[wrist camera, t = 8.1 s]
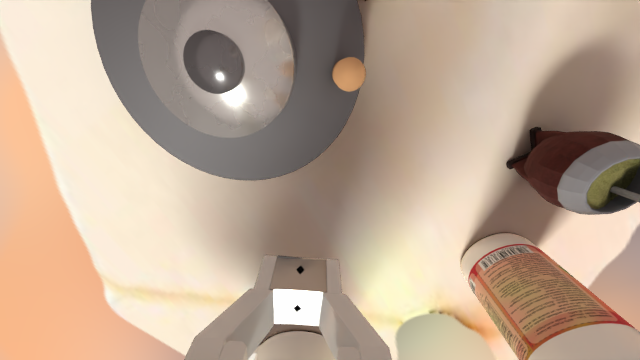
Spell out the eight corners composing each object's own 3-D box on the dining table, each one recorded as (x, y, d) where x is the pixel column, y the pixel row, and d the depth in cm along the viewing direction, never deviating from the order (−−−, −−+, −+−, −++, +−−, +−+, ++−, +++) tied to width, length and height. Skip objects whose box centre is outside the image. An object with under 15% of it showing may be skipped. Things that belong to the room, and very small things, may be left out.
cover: (293, 134, 22) (288, 146, 19) (175, 123, 22) (148, 133, 19) (300, -10, 18) (295, -28, 14) (151, -28, 17) (109, -51, 14)
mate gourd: (497, 139, 25) (704, 223, 11) (580, 104, 23) (934, 155, 10) (507, 194, 28) (683, 314, 14) (582, 167, 26) (858, 273, 13)
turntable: (343, 182, 26) (348, 209, 21) (141, 165, 25) (97, 188, 21) (385, -94, 17) (412, -163, 12) (66, -135, 16) (-49, -225, 11)
